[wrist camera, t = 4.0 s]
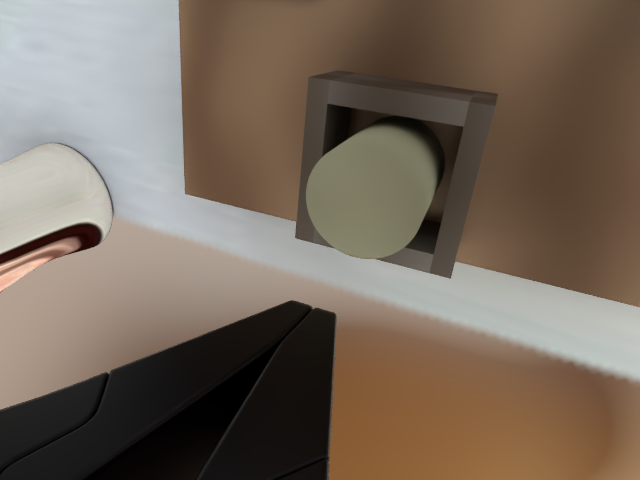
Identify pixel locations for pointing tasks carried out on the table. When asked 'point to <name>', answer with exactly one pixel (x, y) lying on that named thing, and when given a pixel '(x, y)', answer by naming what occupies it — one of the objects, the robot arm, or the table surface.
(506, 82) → the button panel
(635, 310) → the table surface
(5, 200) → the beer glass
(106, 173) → the table surface
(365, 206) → the sage button
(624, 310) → the table surface
